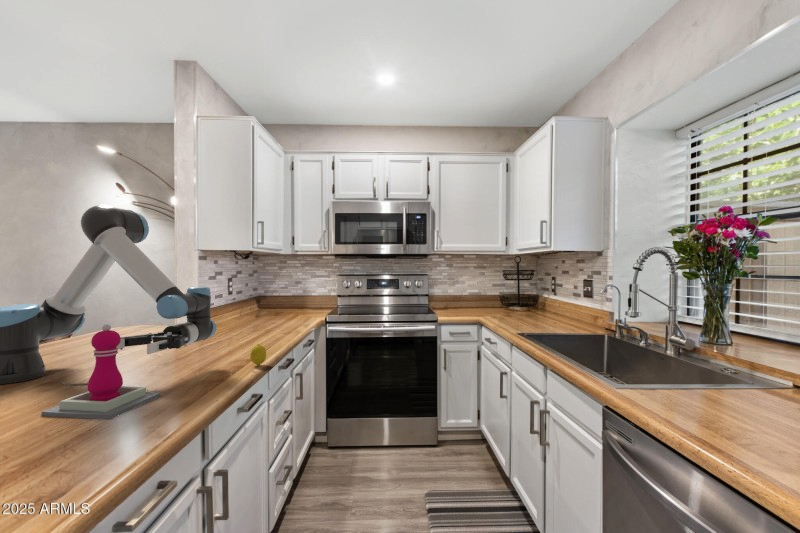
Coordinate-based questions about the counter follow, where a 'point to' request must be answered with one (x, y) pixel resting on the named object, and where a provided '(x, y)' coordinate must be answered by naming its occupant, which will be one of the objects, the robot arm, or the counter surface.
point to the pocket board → (101, 404)
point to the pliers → (75, 384)
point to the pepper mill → (105, 366)
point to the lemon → (258, 354)
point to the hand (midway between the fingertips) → (125, 348)
